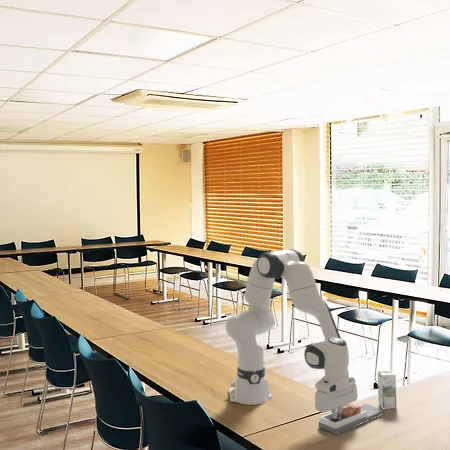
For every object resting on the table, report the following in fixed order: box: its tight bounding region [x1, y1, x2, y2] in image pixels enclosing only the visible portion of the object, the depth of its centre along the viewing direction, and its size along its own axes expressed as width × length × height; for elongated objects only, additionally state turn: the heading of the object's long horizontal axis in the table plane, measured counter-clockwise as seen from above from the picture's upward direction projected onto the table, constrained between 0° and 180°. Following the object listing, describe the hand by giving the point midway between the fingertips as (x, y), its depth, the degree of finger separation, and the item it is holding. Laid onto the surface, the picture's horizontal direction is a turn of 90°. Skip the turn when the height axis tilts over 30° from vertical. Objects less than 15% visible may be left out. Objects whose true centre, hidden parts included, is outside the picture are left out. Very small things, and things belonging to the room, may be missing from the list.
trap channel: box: [318, 403, 385, 435], centre depth 220 cm, size 28×9×4 cm, turn 128°
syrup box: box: [377, 370, 397, 409], centre depth 233 cm, size 6×6×14 cm
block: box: [341, 402, 362, 419], centre depth 220 cm, size 6×5×4 cm
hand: (336, 417), depth 215 cm, fingers closed
